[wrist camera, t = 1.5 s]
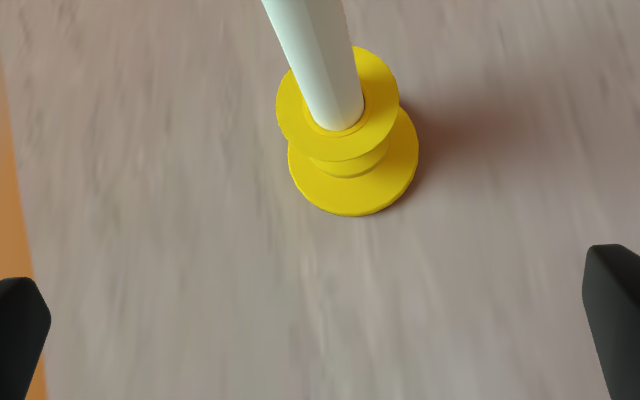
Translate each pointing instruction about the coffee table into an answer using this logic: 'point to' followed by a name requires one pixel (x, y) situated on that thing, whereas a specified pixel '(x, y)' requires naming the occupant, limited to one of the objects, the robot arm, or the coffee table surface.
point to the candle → (339, 113)
